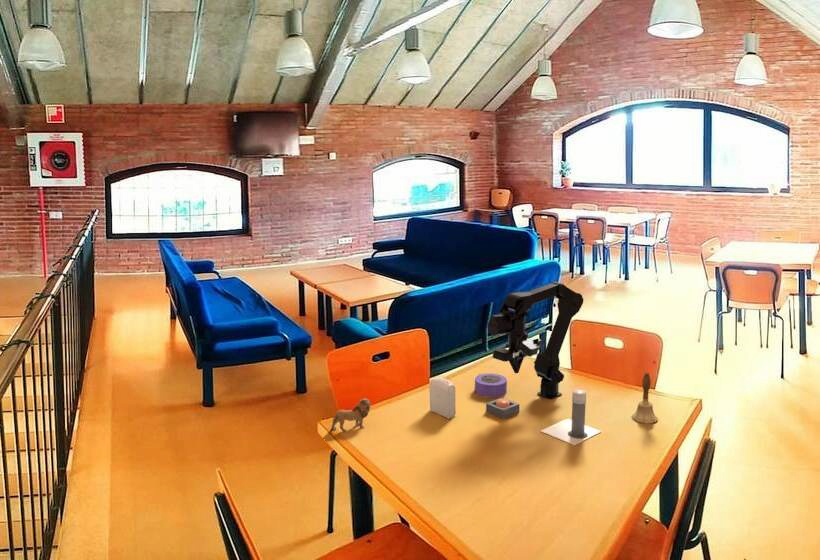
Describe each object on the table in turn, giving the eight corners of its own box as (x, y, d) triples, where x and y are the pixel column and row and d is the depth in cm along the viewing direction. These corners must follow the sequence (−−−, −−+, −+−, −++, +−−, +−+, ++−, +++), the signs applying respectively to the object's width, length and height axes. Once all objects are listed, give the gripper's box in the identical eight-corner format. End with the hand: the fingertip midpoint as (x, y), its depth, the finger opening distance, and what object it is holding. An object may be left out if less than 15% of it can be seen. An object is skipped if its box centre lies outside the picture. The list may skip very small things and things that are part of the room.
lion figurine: (366, 420, 224) (366, 395, 222) (374, 426, 220) (373, 400, 218) (326, 430, 217) (325, 404, 215) (333, 436, 212) (332, 410, 210)
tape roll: (508, 397, 242) (508, 384, 241) (476, 397, 242) (476, 384, 241) (504, 385, 253) (504, 373, 252) (473, 385, 253) (473, 373, 252)
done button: (502, 407, 232) (502, 397, 231) (512, 411, 229) (512, 401, 228) (493, 411, 229) (493, 401, 228) (503, 415, 226) (503, 405, 225)
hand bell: (627, 419, 222) (629, 373, 219) (638, 411, 228) (640, 367, 224) (651, 426, 216) (654, 379, 213) (662, 418, 222) (665, 372, 219)
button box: (501, 405, 234) (502, 397, 234) (519, 412, 228) (519, 404, 228) (486, 411, 229) (486, 403, 229) (503, 418, 223) (503, 410, 223)
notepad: (567, 419, 222) (567, 418, 222) (601, 432, 213) (601, 431, 212) (540, 431, 214) (540, 430, 213) (574, 445, 204) (574, 444, 204)
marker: (572, 430, 213) (574, 389, 210) (585, 432, 211) (587, 391, 208) (569, 435, 209) (571, 393, 206) (583, 438, 208) (584, 395, 205)
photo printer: (427, 410, 231) (427, 376, 229) (437, 407, 234) (437, 373, 231) (448, 419, 223) (448, 384, 221) (457, 416, 226) (457, 381, 223)
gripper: (516, 341, 218) (516, 386, 221) (552, 328, 229) (551, 371, 233) (491, 334, 226) (491, 377, 229) (527, 322, 238) (526, 364, 241)
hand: (516, 372), depth 233 cm, fingers closed
